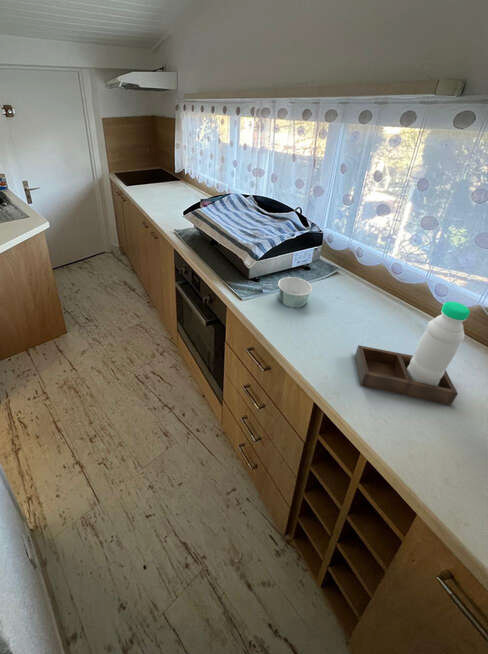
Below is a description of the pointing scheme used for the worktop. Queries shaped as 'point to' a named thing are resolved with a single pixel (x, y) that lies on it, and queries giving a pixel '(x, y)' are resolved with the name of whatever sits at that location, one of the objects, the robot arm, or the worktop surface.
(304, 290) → the food container
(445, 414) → the worktop surface
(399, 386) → the tray
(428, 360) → the water bottle
